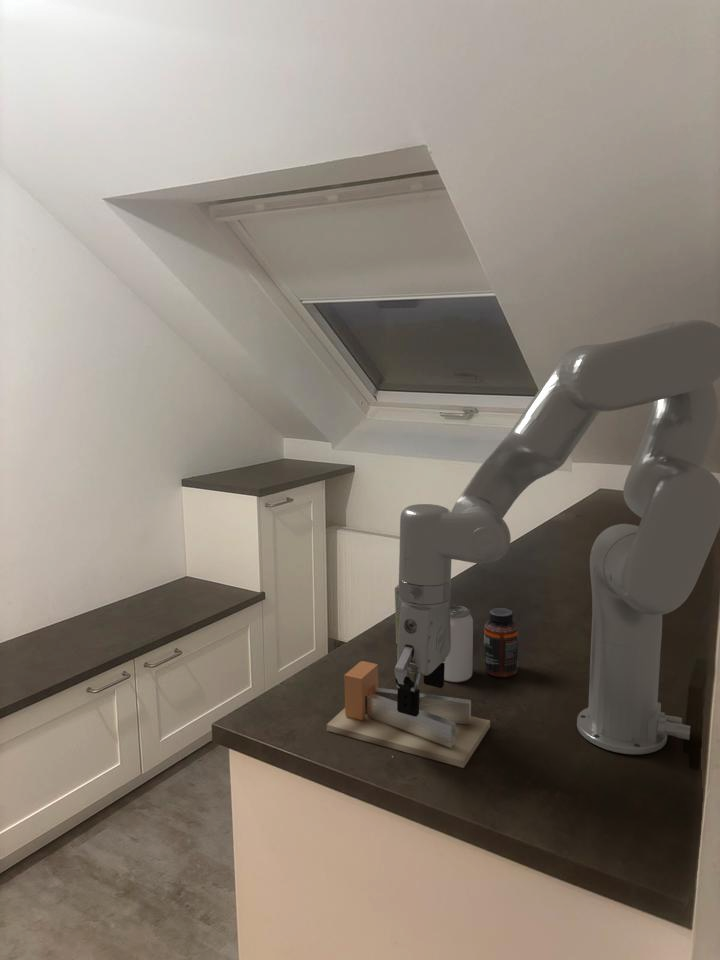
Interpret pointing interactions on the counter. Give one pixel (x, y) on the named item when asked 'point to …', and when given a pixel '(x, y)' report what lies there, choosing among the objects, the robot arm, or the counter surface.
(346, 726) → the tongs board
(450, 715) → the bar
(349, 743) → the counter surface
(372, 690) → the orange notched block
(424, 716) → the jaw
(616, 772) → the counter surface
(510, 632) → the supplement bottle
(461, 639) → the can
